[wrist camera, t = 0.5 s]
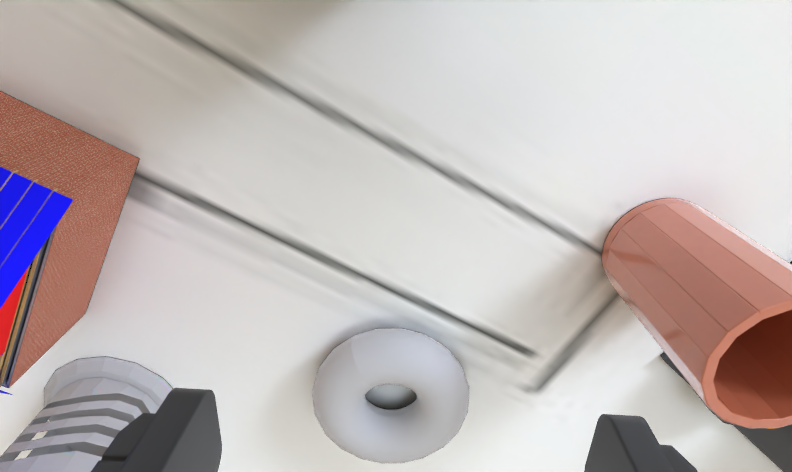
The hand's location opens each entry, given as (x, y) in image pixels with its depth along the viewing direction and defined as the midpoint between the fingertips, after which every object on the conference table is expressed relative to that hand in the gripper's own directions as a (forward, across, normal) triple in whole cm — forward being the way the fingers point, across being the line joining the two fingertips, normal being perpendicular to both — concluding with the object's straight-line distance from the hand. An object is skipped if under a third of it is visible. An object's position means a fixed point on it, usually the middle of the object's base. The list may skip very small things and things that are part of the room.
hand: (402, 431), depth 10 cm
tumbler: (+19, -15, +4) cm, 24 cm away
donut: (+18, +1, +14) cm, 23 cm away
